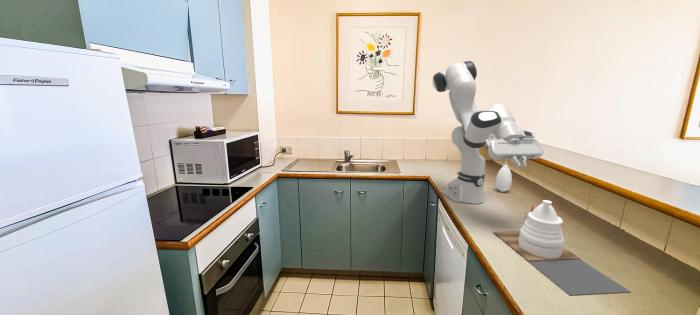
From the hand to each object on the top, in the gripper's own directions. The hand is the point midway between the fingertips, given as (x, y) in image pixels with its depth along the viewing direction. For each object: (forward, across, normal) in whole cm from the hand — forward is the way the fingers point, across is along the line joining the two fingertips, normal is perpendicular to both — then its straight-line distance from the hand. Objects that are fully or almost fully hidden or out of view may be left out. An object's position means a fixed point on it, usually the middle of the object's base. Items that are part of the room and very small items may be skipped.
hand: (521, 167), depth 107 cm
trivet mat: (+39, +1, -1) cm, 39 cm away
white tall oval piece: (-15, +24, +53) cm, 61 cm away
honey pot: (+28, +1, +9) cm, 29 cm away
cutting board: (+26, +1, +12) cm, 28 cm away
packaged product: (+13, +17, +26) cm, 33 cm away
